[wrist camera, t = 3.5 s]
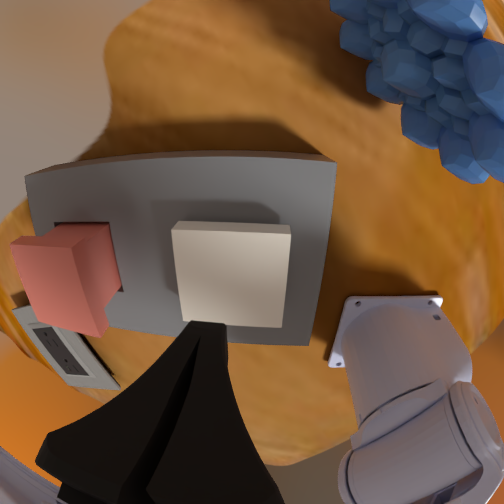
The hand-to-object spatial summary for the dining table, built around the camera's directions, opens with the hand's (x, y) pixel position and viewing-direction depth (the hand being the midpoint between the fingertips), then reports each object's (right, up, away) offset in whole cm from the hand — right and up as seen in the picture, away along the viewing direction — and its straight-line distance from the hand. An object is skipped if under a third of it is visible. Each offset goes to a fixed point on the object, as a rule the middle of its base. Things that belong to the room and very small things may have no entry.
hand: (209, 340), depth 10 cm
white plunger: (+1, +4, +8) cm, 9 cm away
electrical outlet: (-20, -7, +16) cm, 27 cm away
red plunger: (-9, +3, +7) cm, 12 cm away
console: (-4, +4, +9) cm, 11 cm away
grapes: (+10, +15, +3) cm, 18 cm away
